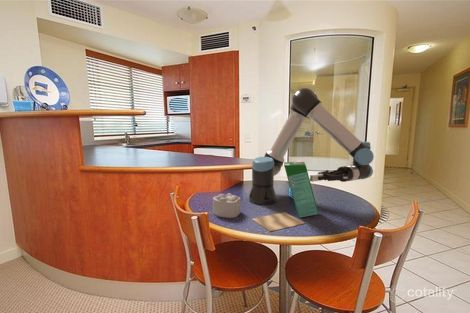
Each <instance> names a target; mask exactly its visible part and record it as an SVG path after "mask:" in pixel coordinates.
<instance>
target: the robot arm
mask: <svg viewBox="0 0 470 313" xmlns="http://www.w3.org/2000/svg"><path fill="white" fill-rule="evenodd" d="M291 102H292V104H291V105H290V108H289V112H290V114H289V115H288V117H287V119H286V121H285V122H284V124H283V127H281V130H280V132H279V133H278V135H277V137H276V139H275V141H274V144H273V145H272V146H271V148H270V149H269V150H267V151H266V152H265V153H264V156H259V157H258V156H257V157H255V158H254V159H253V160H252V164H251V174H252V175H251V182H252V183H251V189H250V192H249V195H248V200H249V202H250V203H252V204H255V205H271V204H275V203H276V202H277V194H276V192H275V188H274V176H276V175H278V174H279V173H280V172H281V169H282V166H283V165H284V162H286V161H285V156H286V154H287V151H288V150H289V149H290V147H291V145H292V143H293V141H294V139H295V138H296V136H297V134H298V133H299V131H300V129H301V127H302V125H303V123H304V122H305V121H306V120H309V119H310V118H311V119H312V120H313V121H314V122H315V123H316V124H317V126H318V127H320V128H321V129H322V130H323V131H325V133H326V134H328V135H329V136H330V137H331V139H333V140H334V141H335V142H336V143H337V144H338V145H339V146H340V147H341V148H342V149H344V151H346V153H347V154H349V155H350V156H351V157H352V164H350V165H345V166H339V167H337V169H336V170H335V169H334V170H331V171H330V170H328V169H326V170H325V171H319V172H317V173H316V174H310V175H309V179H310V182H311V183H312V182H319V181H327V182H332V181H333V182H334V181H339V182H342V183H346V182H353V181H357V180H365V179H368V178H371V177H372V176H373V174H374V170H373V167H372V166H371V165H370V164H371V163H372V162H373V160H374V157H375V156H374V152H373V151H372V150H371V149H372V148H371V142H370V141H363V140H362V141H361V140H359V138H357V137H356V136H355V135H354V134H353V133H352V132H351V131H350V130H349V129H348V128H347V127H346V126H345V125H343V123H341V122H340V121H339V120H338V119H337V118H336V117H335V116H334V115H333V114H331V113H330V111H328V110H327V109H326V108H325V107H324V106H323V102H322V101H321V100H320V99H319V97H318V95H317V94H316V93H315V91H313V90H312V89H310V88H307V87H302V88H299V89H297V90H296V91H295V92H294V93H293V95H292V101H291Z"/></svg>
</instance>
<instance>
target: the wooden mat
mask: <svg viewBox="0 0 470 313" xmlns="http://www.w3.org/2000/svg"><path fill="white" fill-rule="evenodd" d="M251 220H252V221H254V222H255V223H257V224H258V225H260V227H262V228H264V229H265V230H267V231H268V232H271V233H272V232H275V231H279V230H283V229H287V228H292V227H297V226H302V225H305V224H306V223H305V222H304V221H302V220H300V218H298V217H294V216H293V215H291V214H288V212H285V211H284V212H278V213H274V214H269V215H263V216H259V217H254V218H251Z"/></svg>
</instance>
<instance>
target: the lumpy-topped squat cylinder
mask: <svg viewBox="0 0 470 313" xmlns="http://www.w3.org/2000/svg"><path fill="white" fill-rule="evenodd" d="M241 203H242V201H241V197H240V196H237V195H235V194H232V193H230V192H229V193H226V194H224V193H220V194H218V195H214V196H213V198H212V213H213V215H215V216H217V217H220V218H228V219H231V218H233V219H235V218H237V217H238V215H240V214H241V212H242V211H241V210H242V209H241V206H242V205H241Z"/></svg>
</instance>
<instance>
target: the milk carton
mask: <svg viewBox="0 0 470 313" xmlns="http://www.w3.org/2000/svg"><path fill="white" fill-rule="evenodd" d="M283 165H284V166H283V167H284V170H285V174H286V178H287V181H288V185H289V188H290V191H291V192H290V193H291V195H292V199H293V203H294V207H295V209H296V210H295V211H296V214H297V216H298V217H297V219H300V218H303V217H309V216H315V215H319V214H320V213H319V210H318V205H317V202H316V199H315V193H314V191H313V187H312V182H311V181H310V175H309V173H308V172H309V171H308V168H307V165H306V162H305V161H303V160H300V159H299V160H298V159H297V160H294V161H284V162H283Z"/></svg>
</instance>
